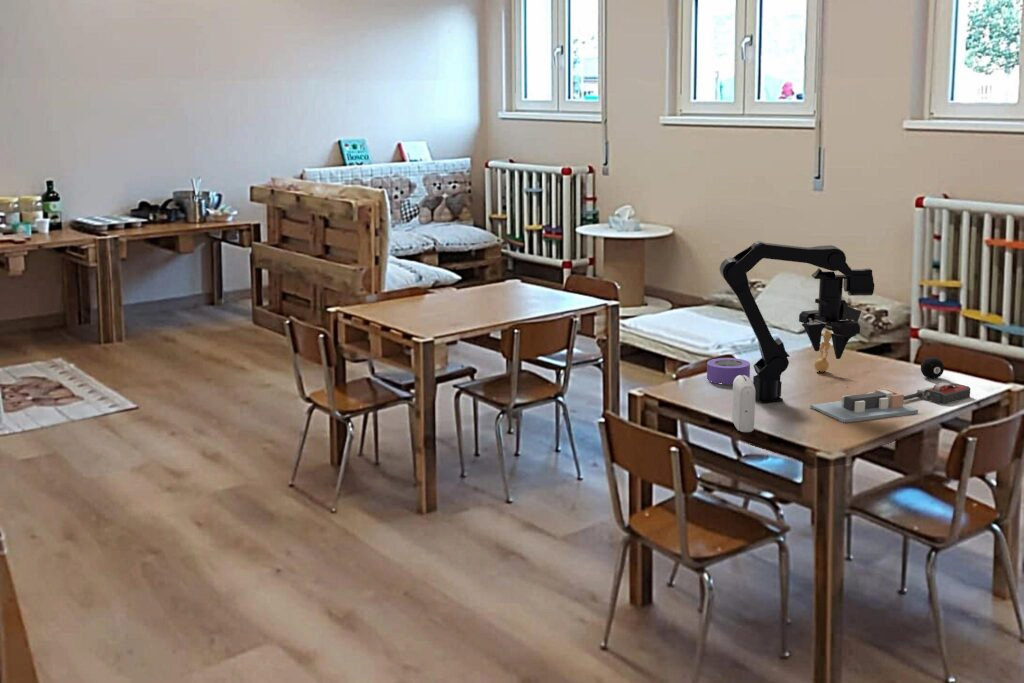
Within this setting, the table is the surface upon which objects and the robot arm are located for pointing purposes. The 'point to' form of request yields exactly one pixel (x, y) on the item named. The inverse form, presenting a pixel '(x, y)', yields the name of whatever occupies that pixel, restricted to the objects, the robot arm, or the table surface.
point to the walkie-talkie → (943, 393)
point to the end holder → (894, 398)
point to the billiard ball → (932, 367)
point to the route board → (862, 410)
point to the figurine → (822, 363)
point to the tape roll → (727, 369)
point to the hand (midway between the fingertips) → (827, 354)
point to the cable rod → (867, 399)
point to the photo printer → (743, 404)
